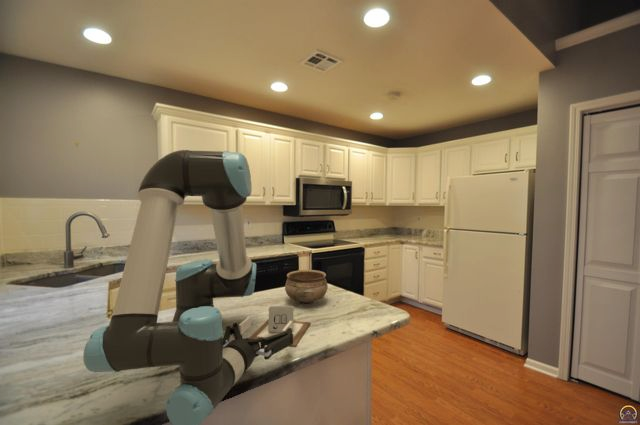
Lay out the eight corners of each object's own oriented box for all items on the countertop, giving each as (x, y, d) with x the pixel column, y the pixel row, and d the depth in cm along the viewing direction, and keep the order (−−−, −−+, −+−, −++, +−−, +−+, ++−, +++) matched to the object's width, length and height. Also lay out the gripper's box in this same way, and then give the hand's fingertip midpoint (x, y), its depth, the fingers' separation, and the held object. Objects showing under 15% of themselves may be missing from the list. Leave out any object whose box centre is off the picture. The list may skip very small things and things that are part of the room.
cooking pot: (284, 293, 128) (284, 268, 128) (322, 291, 131) (322, 267, 131) (285, 314, 103) (285, 283, 103) (332, 311, 106) (332, 281, 106)
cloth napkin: (247, 340, 83) (247, 338, 83) (269, 319, 99) (269, 317, 99) (295, 347, 79) (295, 344, 79) (310, 324, 95) (310, 322, 95)
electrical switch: (267, 333, 86) (268, 307, 87) (270, 328, 91) (270, 304, 92) (293, 333, 87) (293, 307, 87) (294, 328, 91) (294, 303, 92)
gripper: (185, 370, 63) (234, 330, 84) (282, 387, 57) (309, 339, 78) (185, 339, 63) (234, 306, 84) (282, 353, 57) (309, 314, 78)
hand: (270, 322), depth 81 cm, fingers open, 13 cm apart
